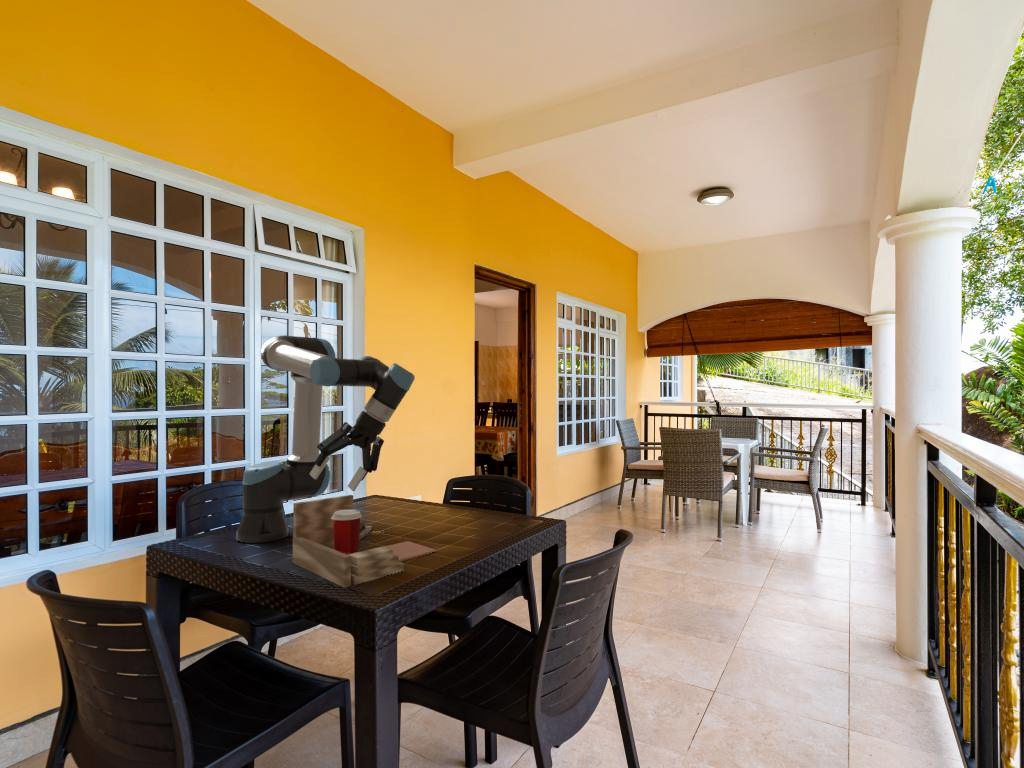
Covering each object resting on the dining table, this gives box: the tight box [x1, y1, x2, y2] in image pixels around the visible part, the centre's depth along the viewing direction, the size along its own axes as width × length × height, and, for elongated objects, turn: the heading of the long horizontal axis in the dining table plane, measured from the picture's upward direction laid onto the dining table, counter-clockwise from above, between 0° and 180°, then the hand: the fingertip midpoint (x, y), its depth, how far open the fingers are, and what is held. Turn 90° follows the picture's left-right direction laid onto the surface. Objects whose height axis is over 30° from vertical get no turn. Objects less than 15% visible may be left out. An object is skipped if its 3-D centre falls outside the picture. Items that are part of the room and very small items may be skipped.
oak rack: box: [292, 494, 354, 589], centre depth 143 cm, size 17×28×16 cm, turn 46°
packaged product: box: [359, 517, 373, 541], centre depth 174 cm, size 18×5×10 cm
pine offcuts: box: [348, 546, 405, 586], centre depth 135 cm, size 14×5×6 cm, turn 136°
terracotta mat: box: [383, 540, 438, 563], centre depth 155 cm, size 14×14×1 cm
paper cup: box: [331, 509, 363, 555], centre depth 144 cm, size 8×8×14 cm
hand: (332, 483), depth 147 cm, fingers open, 13 cm apart
